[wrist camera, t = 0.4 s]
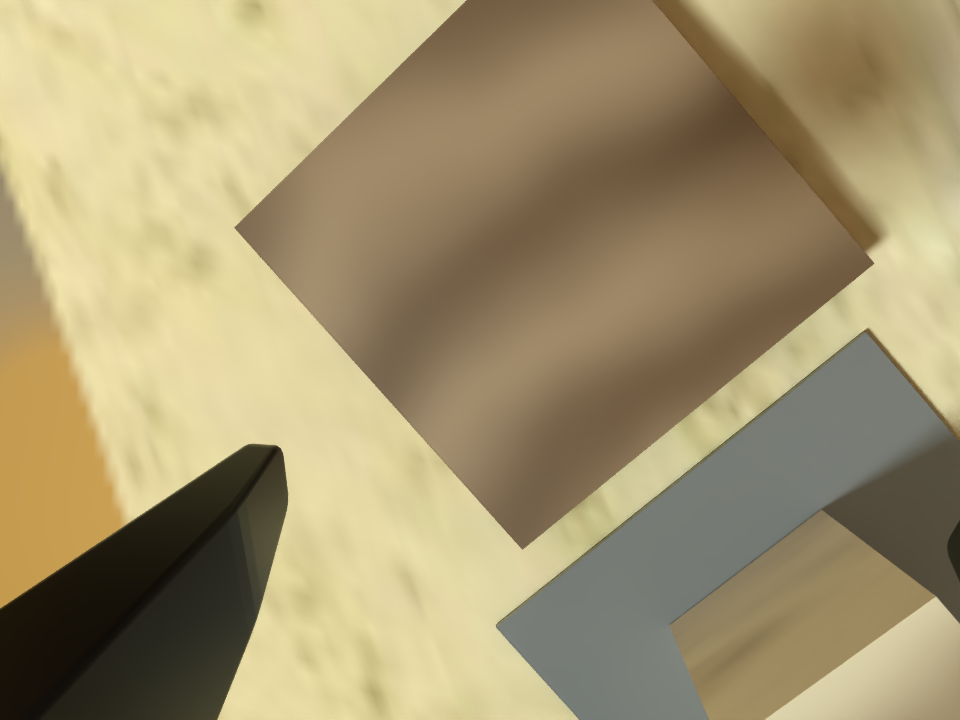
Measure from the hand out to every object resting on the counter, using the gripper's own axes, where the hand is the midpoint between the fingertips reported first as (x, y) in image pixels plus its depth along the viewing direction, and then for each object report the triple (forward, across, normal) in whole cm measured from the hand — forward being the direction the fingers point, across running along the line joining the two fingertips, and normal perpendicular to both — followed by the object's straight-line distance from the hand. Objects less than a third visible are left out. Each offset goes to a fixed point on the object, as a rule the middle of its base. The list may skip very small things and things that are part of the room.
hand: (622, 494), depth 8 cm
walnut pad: (+14, 0, +2) cm, 14 cm away
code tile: (+8, -10, +13) cm, 18 cm away
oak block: (+8, -10, +13) cm, 18 cm away
